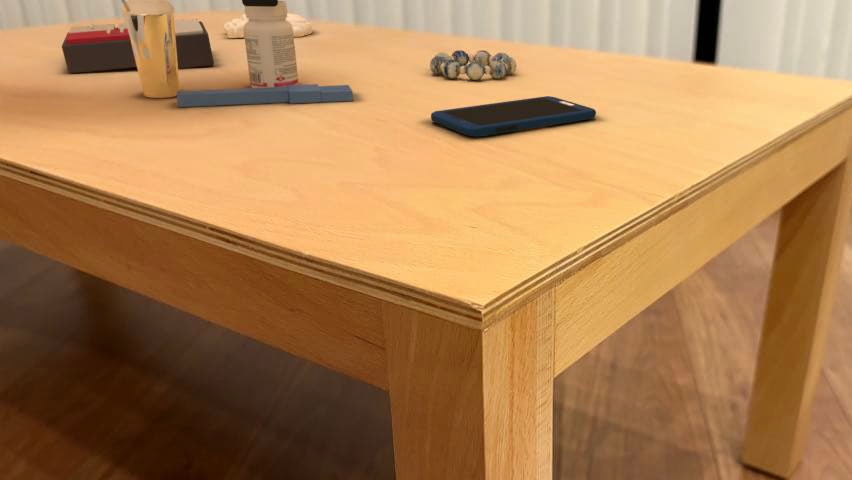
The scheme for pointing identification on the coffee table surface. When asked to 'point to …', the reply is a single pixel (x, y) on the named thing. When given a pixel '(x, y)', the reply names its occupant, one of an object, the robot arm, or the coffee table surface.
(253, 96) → the blue ruler strip
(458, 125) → the cell phone
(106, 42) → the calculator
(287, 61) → the pill bottle
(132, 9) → the milkshake
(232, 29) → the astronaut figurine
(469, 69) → the bracelet
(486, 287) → the coffee table surface
